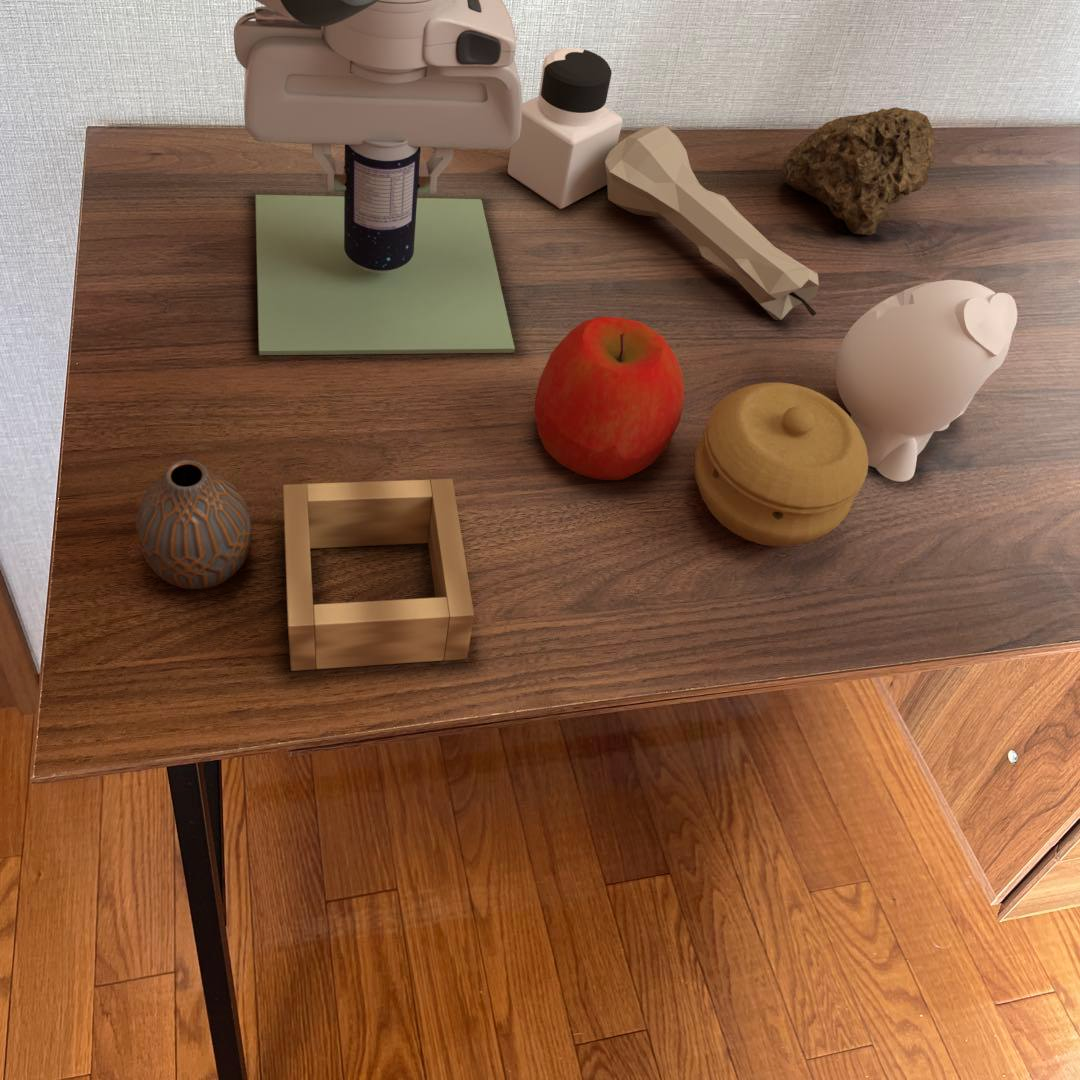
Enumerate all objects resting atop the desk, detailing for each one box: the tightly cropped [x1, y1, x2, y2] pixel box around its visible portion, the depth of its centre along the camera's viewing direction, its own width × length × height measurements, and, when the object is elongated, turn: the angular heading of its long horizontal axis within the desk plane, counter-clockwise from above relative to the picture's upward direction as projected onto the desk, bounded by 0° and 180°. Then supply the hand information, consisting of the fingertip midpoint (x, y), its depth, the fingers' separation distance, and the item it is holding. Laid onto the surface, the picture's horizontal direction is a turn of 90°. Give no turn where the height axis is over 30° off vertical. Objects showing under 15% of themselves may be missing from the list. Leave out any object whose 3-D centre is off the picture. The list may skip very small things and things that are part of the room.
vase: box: [135, 459, 253, 590], centre depth 69 cm, size 7×7×9 cm
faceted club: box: [605, 124, 820, 321], centre depth 98 cm, size 9×8×25 cm
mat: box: [254, 194, 516, 356], centre depth 93 cm, size 20×20×1 cm
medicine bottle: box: [507, 47, 623, 210], centre depth 101 cm, size 7×7×12 cm
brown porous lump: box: [781, 106, 935, 236], centre depth 104 cm, size 11×13×15 cm
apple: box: [533, 316, 686, 481], centre depth 80 cm, size 11×11×11 cm
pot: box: [693, 381, 869, 547], centre depth 79 cm, size 12×12×10 cm
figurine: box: [835, 279, 1018, 483], centre depth 84 cm, size 11×11×15 cm
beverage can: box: [343, 139, 422, 273], centre depth 87 cm, size 6×6×12 cm
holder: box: [282, 478, 475, 672], centre depth 71 cm, size 11×11×5 cm
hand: (381, 188), depth 87 cm, fingers closed on beverage can, 5 cm apart
